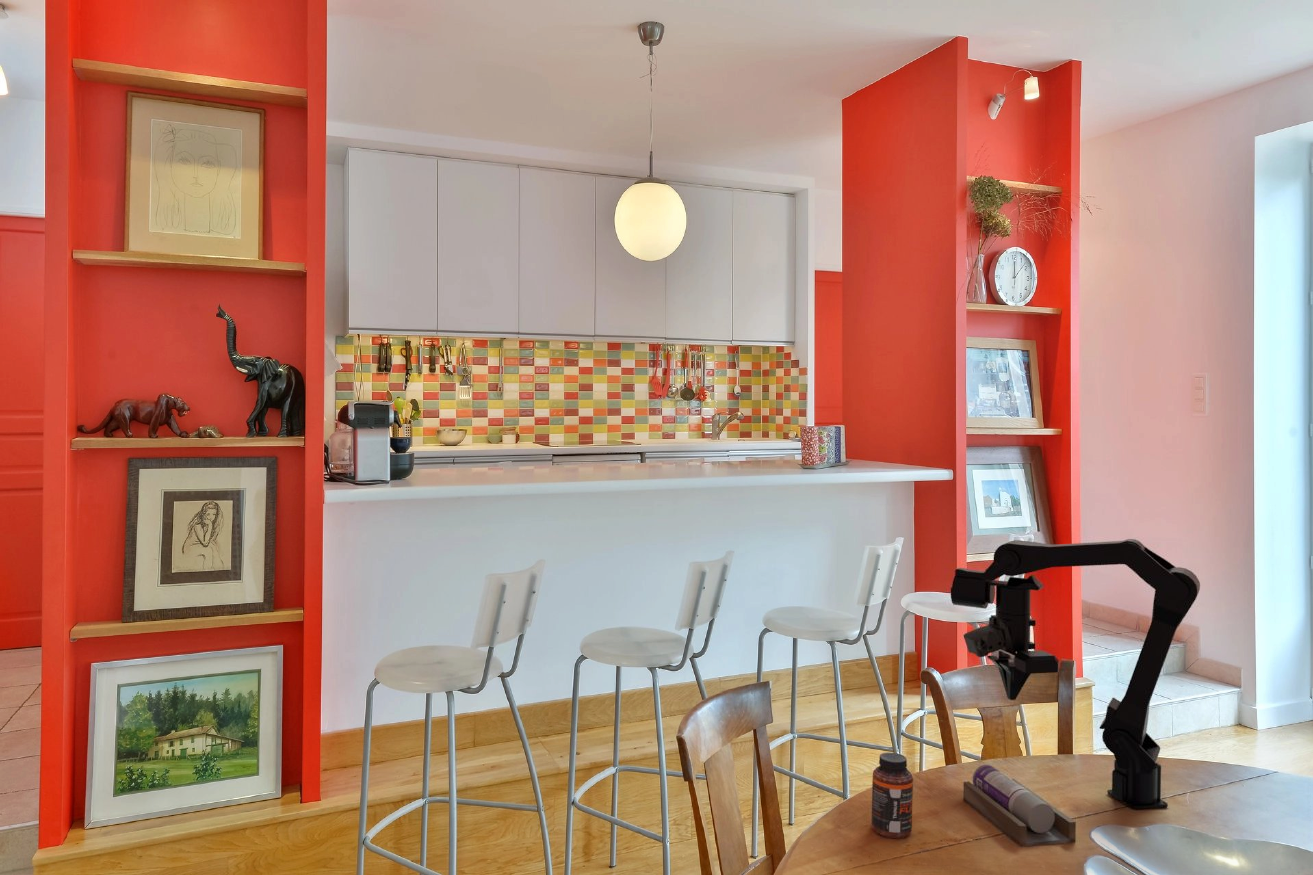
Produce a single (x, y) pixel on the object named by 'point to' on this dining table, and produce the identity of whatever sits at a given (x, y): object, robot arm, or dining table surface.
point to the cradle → (1013, 827)
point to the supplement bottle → (892, 797)
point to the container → (1014, 798)
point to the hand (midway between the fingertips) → (1011, 699)
